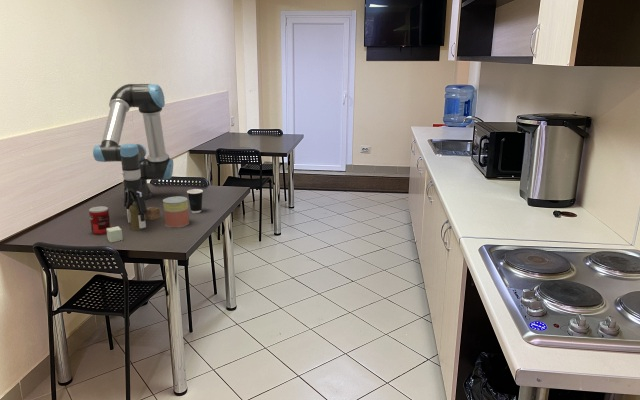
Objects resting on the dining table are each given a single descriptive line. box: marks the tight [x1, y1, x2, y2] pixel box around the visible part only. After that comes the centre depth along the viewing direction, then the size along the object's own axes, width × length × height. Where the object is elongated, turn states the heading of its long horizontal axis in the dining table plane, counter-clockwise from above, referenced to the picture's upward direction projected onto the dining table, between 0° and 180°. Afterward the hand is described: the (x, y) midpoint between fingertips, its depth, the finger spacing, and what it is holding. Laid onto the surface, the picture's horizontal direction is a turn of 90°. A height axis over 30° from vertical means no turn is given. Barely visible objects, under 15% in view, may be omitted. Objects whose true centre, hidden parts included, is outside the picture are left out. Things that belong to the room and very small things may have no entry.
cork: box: [129, 203, 143, 231], centre depth 220 cm, size 6×6×11 cm
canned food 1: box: [88, 205, 111, 236], centre depth 214 cm, size 8×8×11 cm
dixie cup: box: [186, 188, 204, 214], centre depth 244 cm, size 8×8×11 cm
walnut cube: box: [145, 206, 161, 221], centre depth 235 cm, size 5×5×5 cm
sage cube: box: [106, 225, 124, 243], centre depth 206 cm, size 5×5×5 cm
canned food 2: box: [162, 195, 190, 228], centre depth 226 cm, size 11×11×12 cm
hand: (136, 224), depth 221 cm, fingers open, 10 cm apart
